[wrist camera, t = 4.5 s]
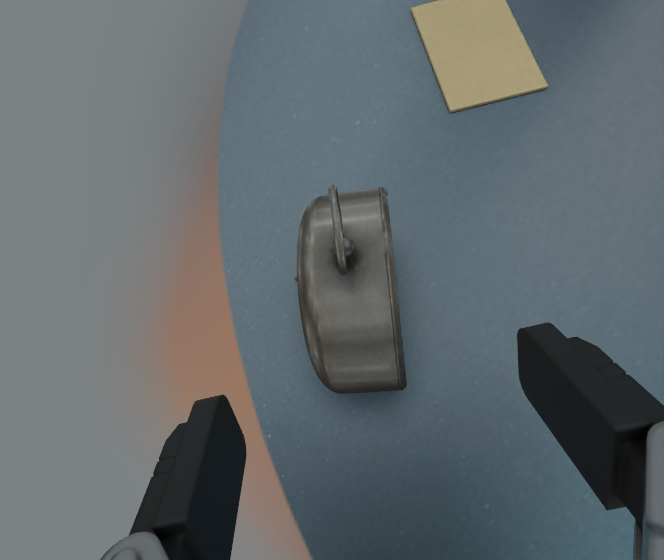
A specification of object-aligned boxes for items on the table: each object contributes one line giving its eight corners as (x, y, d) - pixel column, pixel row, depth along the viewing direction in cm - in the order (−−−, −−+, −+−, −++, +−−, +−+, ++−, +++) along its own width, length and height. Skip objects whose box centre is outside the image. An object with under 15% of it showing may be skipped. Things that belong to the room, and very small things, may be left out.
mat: (449, 113, 34) (450, 110, 33) (410, 10, 38) (410, 7, 38) (546, 88, 33) (548, 86, 33) (497, -12, 37) (497, -16, 37)
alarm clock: (406, 396, 27) (434, 366, 12) (324, 400, 28) (251, 377, 12) (391, 243, 31) (397, 70, 15) (319, 250, 31) (257, 88, 16)
